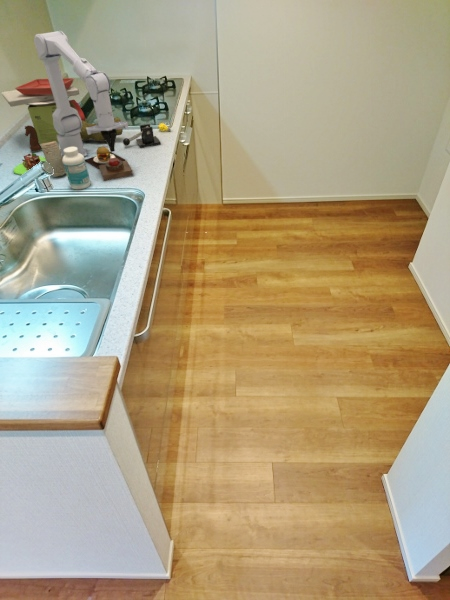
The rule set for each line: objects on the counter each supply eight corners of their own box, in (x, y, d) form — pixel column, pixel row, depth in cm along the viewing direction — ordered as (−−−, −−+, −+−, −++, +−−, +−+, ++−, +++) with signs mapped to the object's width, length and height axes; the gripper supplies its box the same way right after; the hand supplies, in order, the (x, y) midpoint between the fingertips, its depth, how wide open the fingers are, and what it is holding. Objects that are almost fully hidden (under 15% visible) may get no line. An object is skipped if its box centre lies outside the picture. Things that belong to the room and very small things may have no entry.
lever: (125, 147, 172) (122, 141, 170) (124, 145, 174) (121, 139, 172) (151, 133, 172) (148, 126, 170) (150, 130, 175) (146, 124, 172)
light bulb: (156, 130, 186) (159, 128, 188) (169, 135, 186) (171, 132, 189) (157, 123, 184) (160, 121, 186) (170, 128, 184) (172, 125, 186)
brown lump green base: (35, 179, 152) (29, 163, 147) (8, 171, 157) (1, 156, 153) (63, 163, 161) (59, 148, 157) (37, 157, 167) (31, 142, 162)
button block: (104, 181, 149) (101, 170, 146) (99, 170, 156) (97, 160, 153) (133, 175, 152) (131, 165, 149) (127, 165, 159) (125, 155, 156)
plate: (62, 107, 165) (61, 103, 164) (12, 108, 165) (10, 104, 164) (76, 94, 181) (75, 90, 180) (30, 95, 181) (29, 91, 180)
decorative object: (81, 139, 184) (70, 127, 192) (89, 137, 185) (77, 126, 194) (74, 109, 174) (62, 98, 182) (82, 107, 175) (70, 96, 184)
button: (110, 166, 150) (109, 162, 148) (108, 163, 152) (107, 158, 151) (120, 165, 150) (119, 160, 149) (118, 161, 153) (117, 157, 152)
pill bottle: (72, 181, 149) (61, 145, 140) (92, 180, 149) (83, 144, 140) (68, 190, 143) (57, 153, 134) (89, 189, 144) (79, 152, 135)
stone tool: (81, 133, 183) (79, 147, 177) (74, 115, 175) (72, 129, 170) (125, 130, 184) (125, 143, 179) (121, 112, 176) (120, 125, 171)
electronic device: (10, 107, 162) (9, 101, 160) (1, 94, 174) (-1, 89, 173) (80, 94, 173) (79, 89, 171) (66, 83, 185) (65, 79, 184)
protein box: (74, 140, 180) (64, 104, 170) (39, 144, 178) (26, 107, 167) (76, 133, 188) (66, 97, 177) (42, 136, 185) (30, 100, 175)
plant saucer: (16, 96, 165) (13, 87, 163) (38, 86, 179) (36, 78, 176) (57, 96, 162) (54, 87, 160) (76, 86, 176) (74, 78, 174)
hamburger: (110, 152, 169) (107, 139, 165) (125, 160, 162) (122, 147, 159) (84, 160, 163) (81, 147, 160) (99, 169, 157) (95, 155, 153)
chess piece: (29, 151, 172) (19, 127, 167) (39, 148, 175) (30, 123, 170) (34, 152, 170) (24, 127, 164) (45, 148, 173) (35, 124, 167)
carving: (51, 178, 149) (39, 144, 144) (50, 176, 155) (39, 143, 150) (68, 174, 151) (57, 141, 146) (67, 172, 157) (56, 140, 152)
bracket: (140, 148, 172) (137, 130, 167) (136, 141, 178) (133, 124, 173) (160, 144, 174) (158, 127, 170) (156, 138, 180) (153, 121, 175)
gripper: (84, 118, 135) (94, 157, 144) (126, 112, 139) (133, 151, 148) (81, 112, 140) (91, 151, 149) (122, 107, 144) (129, 144, 153)
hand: (112, 150), depth 149 cm, fingers closed
